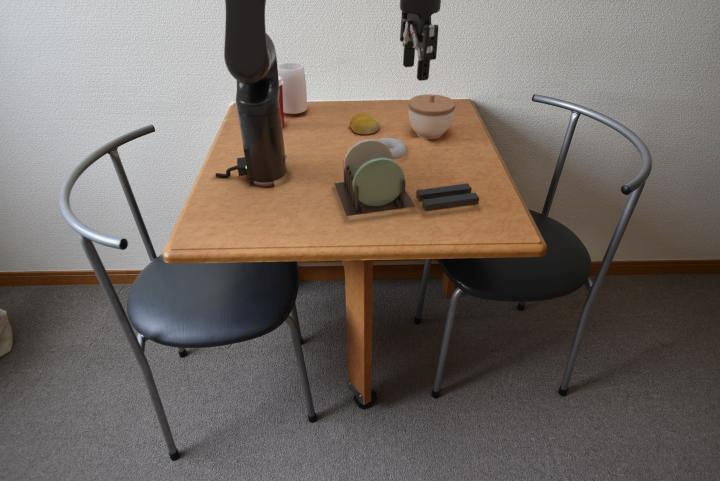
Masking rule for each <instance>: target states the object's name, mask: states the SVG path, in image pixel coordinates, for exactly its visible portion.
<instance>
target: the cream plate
mask: <svg viewBox="0 0 720 481" xmlns="http://www.w3.org/2000/svg"><path fill="white" fill-rule="evenodd" d="M390 149H391V148H388V146H387V145H386V144H385V143H383V142H381V141H379V140H377V139H376V138H365V139H361V140H359V141H357V142H355V143H354V144H353V145H351V147H350V148H349V149H348V150H347V152H346V154H345V156H344V159H343V161H344V166H343V171H344V170H345V172H346V165H349V170H351V175H353V176H354V175H355V173H356V172H357V170H358V169H359V168H360V167H361V166H362V165H363V164H364V163H366V162H367V161H369V160H372V159H375V158H389V159H392V160H394V159H393V157H392V153H391V151H390Z"/></svg>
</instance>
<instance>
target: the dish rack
mask: <svg viewBox="0 0 720 481" xmlns="http://www.w3.org/2000/svg"><path fill="white" fill-rule="evenodd" d="M342 162H343V164H342V165H343V166H342V167H344V160H343V161H342ZM353 178H354V176H353V175H351V170H349V165H346V172H345V170H344V169H343V181H341V182H340V181H339V182H334V186H335V189H336V192H337V194H338V197H339V200H340V202H341V205H342V208H343V211H344V213H345V216H346V217H351V216H352V217H353V216H359V215H365V214H366V215H367V214H372V213H373V214H374V213H380V212H388V211H394V210H403V209H409V208H415V207H416V205H415V203H414V202H413V200H412V199H411V197H410V195H409V193H408V192H407V190H406V182H407V181H406V179H405V180H402V187H401V193H400V194H399V195H398V196H397V198H395V199H394V200H393V201H391V202H390V203H388V204H385V205H382V206H369V205H366V204H364V203H362V202H361V201H359V187H358V186H355V193H354V191H353V185H352V184H353Z"/></svg>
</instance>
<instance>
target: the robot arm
mask: <svg viewBox="0 0 720 481" xmlns="http://www.w3.org/2000/svg"><path fill="white" fill-rule="evenodd" d="M224 3H225V24H224V26H225V27H224V46H223V47H224V48H223V58H224V63H225V67H226V68H227V70H228V73H229V74H230V75H231V76H232V77H233V78H234V79H235V81H236V94H235V107H236V111H237V117H238V123H239V129H240V135H241V140H242V148H243V149H242V150H243V155H244V156H243V157H236V165H234V166H230V167H228V168H227V169H225V173H221V172H216V173H215V177H216V178H225V179H227V178H229V177H231V175H232V173H231V172H233V171H237V174H238V177H245V176H247V179H248V184H249V186H256V187H266V188H267V187H274V186H275V181H278V180H280V179H282V178H284V177H285V176H286V175H287V173H288V166H287V155H286V150H285V142H284V140H285V139H284V133H283V132H284V131H283V128H282V123H281V114H280V105H279V77H278V56H277V50H276V47H275V44H274V41H273V40H272V38H271V37H270V35H269V34H268V33H267V31H266V30H267V29H266V5H267V0H224ZM441 4H442V0H399V9H400V11H401V16H400V18H401V19H400V33H399V42H400V43H402V44H401V45H402V48H403V55H402V56H403V57H402V58H403V59H402V66H403V67H404V68H413V67H414V66H415V56H416V52H417V59H418V60H417V67H416V68H417V69H416V79H417V80H418V81H419V82H420V81H427V80H429V77H430V66H431V61H432V60H433V61H434V60H436V59H437V53H438V41H439V40H438V39H439V38H438V37H439V24H432V16H433V15H434V14H436V13H439V12H440V11H441V6H442V5H441Z"/></svg>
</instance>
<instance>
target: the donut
mask: <svg viewBox="0 0 720 481" xmlns="http://www.w3.org/2000/svg"><path fill="white" fill-rule="evenodd" d="M376 140H379V141H381V142H383V143H385V144H386V145H387V146H388V148H389V149H390V151H391V153H392V157H393V160H397V159H400V158H403V157H404V156H406V155H407V153H408V146H407V144H406V143H405V142H404V141H402V140H401V139H398V138H395V137H381V138H377V139H376Z"/></svg>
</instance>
